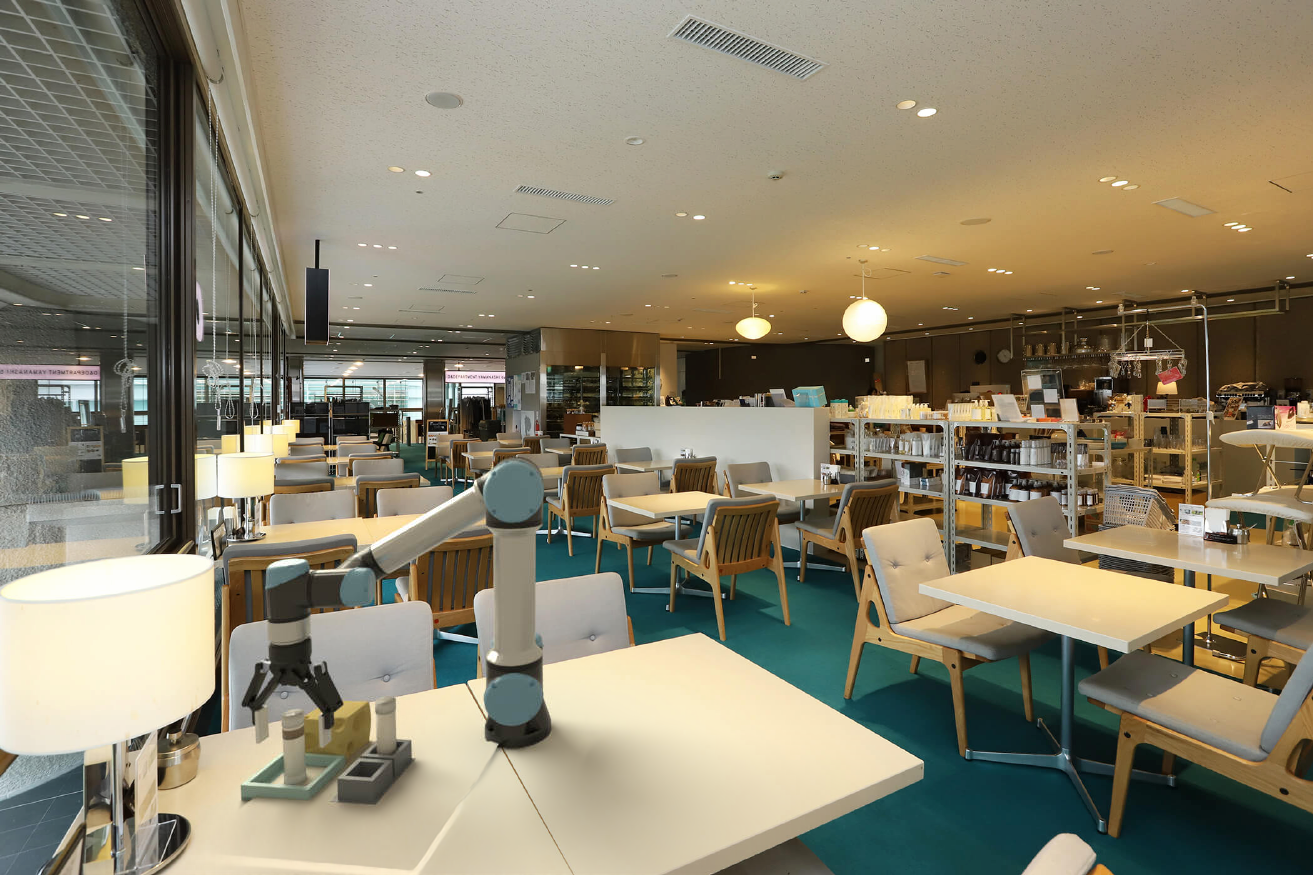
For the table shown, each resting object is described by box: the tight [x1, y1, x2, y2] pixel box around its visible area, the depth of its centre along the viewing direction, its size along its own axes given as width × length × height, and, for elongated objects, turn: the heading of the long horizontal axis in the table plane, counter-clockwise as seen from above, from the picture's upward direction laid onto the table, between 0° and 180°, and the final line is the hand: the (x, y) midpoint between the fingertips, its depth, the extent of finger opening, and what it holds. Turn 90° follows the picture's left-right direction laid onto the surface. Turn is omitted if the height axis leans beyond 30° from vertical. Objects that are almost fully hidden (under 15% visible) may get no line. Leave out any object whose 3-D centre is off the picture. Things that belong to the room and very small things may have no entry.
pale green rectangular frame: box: [240, 751, 346, 801], centre depth 132 cm, size 14×12×3 cm
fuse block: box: [330, 696, 416, 806], centre depth 132 cm, size 9×16×15 cm, turn 173°
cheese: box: [304, 699, 372, 762], centre depth 143 cm, size 10×11×10 cm
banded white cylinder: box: [280, 708, 308, 786], centre depth 131 cm, size 4×4×14 cm
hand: (293, 742), depth 131 cm, fingers open, 13 cm apart
